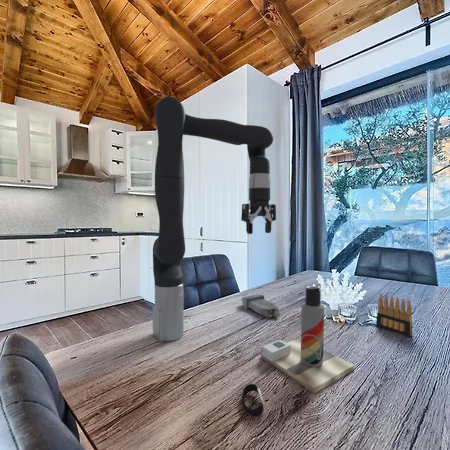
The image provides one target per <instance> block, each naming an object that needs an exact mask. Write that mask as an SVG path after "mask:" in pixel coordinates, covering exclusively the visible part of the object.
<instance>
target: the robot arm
mask: <svg viewBox="0 0 450 450" xmlns="http://www.w3.org/2000/svg"><path fill="white" fill-rule="evenodd" d="M154 123H155V125H156V128H157V151H156V158H155V167H154V168H155V169H154V198H155V203H156V208H157V212H158V218H159V224H158V225H159V227H158V237H157V238H156V239H155V240H154V242H153V245H152V265H153V266H152V267H153V268H152V269H153V270H152V272H153V279H154V282H153V283H154V306H152V335H153V337H154V338H155V340H157V341H158V342H159V343H161V342H172V341H176V340H180V339H181V338H182V337H184V333H185V331H184V330H185V329H184V328H185V327H184V325H185V324H184V274H183V271H182V265H181V264H182V263H181V261H182V260H183V258H184V257H185V253H186V241H185V232H184V207H185V205H184V203H185V165H184V164H185V163H184V162H185V161H184V152H183V136H190V137H191V136H192V137H199V138H204V139H209V140H213V141H218V142H222V143H226V144H230V145H234V146H241V145H247V147H246V149H247V154H248V159H249V178H248V201H249V203H242V204H241V219H240V220H241V221H242V222H245V224H246V225H245V228H246V229H245V231H246V234H248V235H252V234H253V233H254V231H253V230H254V229H253V228H254V224H253V222H254V220H255V219H256V218H257V217H262V218H263V219H264V221H265V225H264V227H265V228H264V232H265V234H270V233H271V232H272V223H273V222H274V221H276V220H277V206H276V204H272V203H271V204H270V203H269V202H270V201H271V176H270V175H271V174H270V173H271V167H270V166H271V162H270V161H271V160H270V159H269V158H268V157H267V156H266V155H267V154H266V149H268V148H269V147H271V145H272V144H273V142H274V135H273V132H272V131H271V130H270V129H269V128H267V127H264V126H261V125H252V124H241V123H238V122H235V121H231V120H227V119H222V118H203V117H202V118H201V117H196V116H191V115H189V114H187V113H186V111H185V107H184V105H183V104H182V103H181V101H180V100H179V99H178V98H176V97H174V96H164V97H162V98H161V99H160V100H159V101H158V102H157V104H156V105H155V109H154Z"/></svg>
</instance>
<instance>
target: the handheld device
mask: <svg viewBox="0 0 450 450" xmlns="http://www.w3.org/2000/svg"><path fill="white" fill-rule="evenodd" d="M241 303H242V306H243V308H244V309H246V310H250V309H251V310H252V311H254V312H255V313H257V314H259V315H261V316H262V317H265V318H269V319H270V318H274V317H275V318H278V317H280V312H279V311H280V309H279V307H278V306H277V305H276V304H275V303H273V302H271V301H268V300H266V299H265V296H264V295H262V294H252V295H246V296H242V297H241ZM249 308H250V309H249Z"/></svg>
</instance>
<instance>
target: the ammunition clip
mask: <svg viewBox="0 0 450 450" xmlns="http://www.w3.org/2000/svg"><path fill="white" fill-rule="evenodd" d="M412 315H413V312H412V301H411V300H410V299H408V302H407V304H406V300H405V299H404V298H403V299H402V300H401V303H400V298H399V297H396V299H395V301H394V296H392V295H391V297H390V299H389V296H388V295H387V294H386V295H385V296H384V298H383V293H380V294H379V298H378V304H377V312H376V321H375V322H376V325H375V326H376V327H377V328H380V329H383V330H386V331H388V330H389V332H391V331H392V333H394V332H396V333H395V334H397V333H398V334H397V335H400V334H402V335H401V336H403V335H405V336H404V337H406V336H408V337H407V338H411V337H413V321H412V320H413V316H412Z"/></svg>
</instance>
